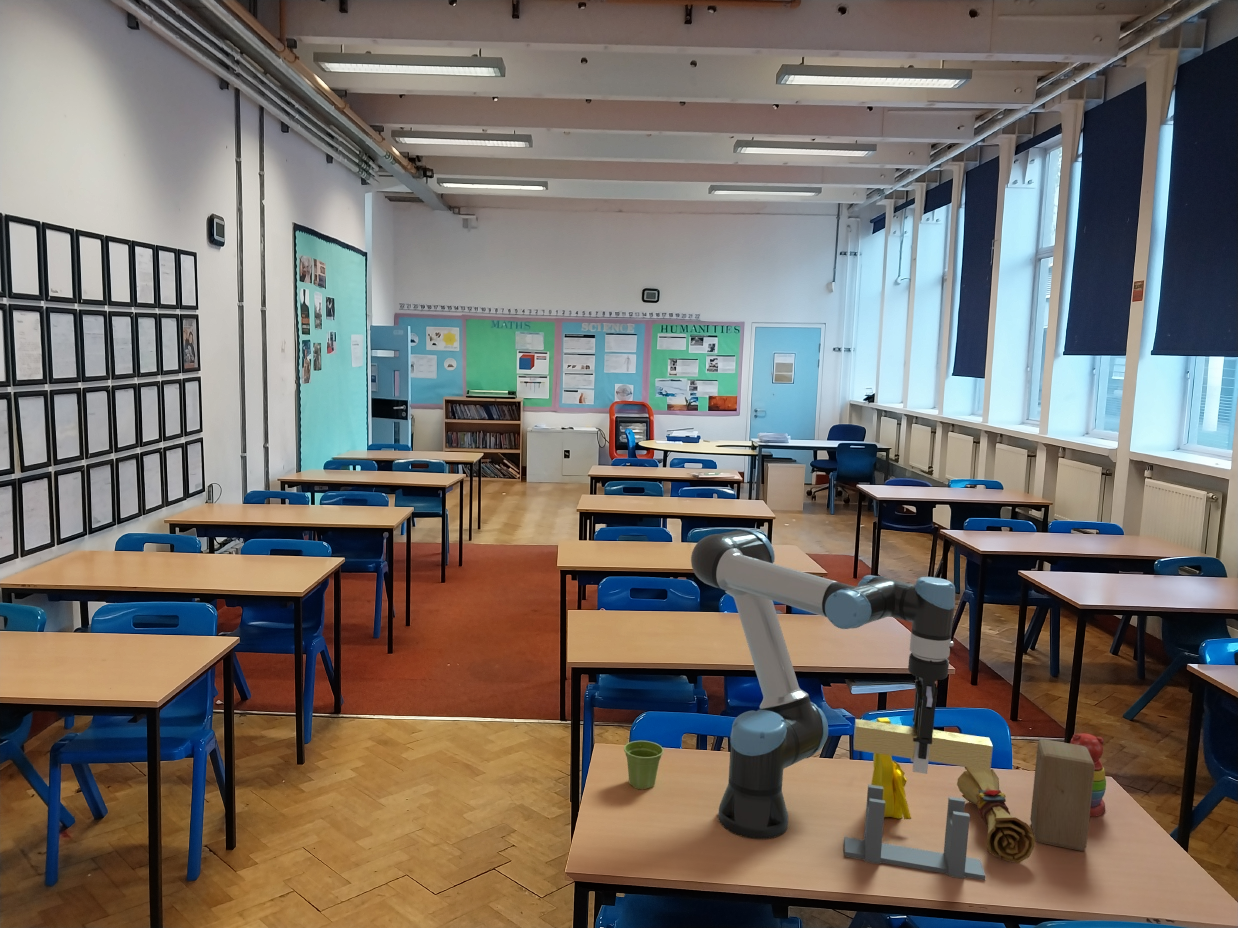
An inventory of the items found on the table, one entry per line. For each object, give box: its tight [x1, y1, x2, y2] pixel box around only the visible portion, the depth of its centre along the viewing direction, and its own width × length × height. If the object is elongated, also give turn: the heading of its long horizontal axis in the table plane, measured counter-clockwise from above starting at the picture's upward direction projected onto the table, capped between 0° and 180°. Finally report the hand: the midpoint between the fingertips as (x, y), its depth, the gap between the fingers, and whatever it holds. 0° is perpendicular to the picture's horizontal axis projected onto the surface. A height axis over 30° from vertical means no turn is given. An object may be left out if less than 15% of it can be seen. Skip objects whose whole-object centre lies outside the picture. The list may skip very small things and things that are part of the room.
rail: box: [853, 718, 994, 770], centre depth 172 cm, size 26×4×5 cm, turn 76°
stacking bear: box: [1069, 732, 1107, 818], centre depth 200 cm, size 11×10×18 cm
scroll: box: [956, 766, 1036, 864], centre depth 187 cm, size 27×10×10 cm, turn 171°
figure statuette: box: [870, 717, 912, 820], centre depth 193 cm, size 18×8×22 cm, turn 2°
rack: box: [843, 784, 986, 881], centre depth 174 cm, size 27×7×13 cm, turn 76°
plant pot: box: [623, 740, 665, 790], centre depth 202 cm, size 9×9×9 cm
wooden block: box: [1029, 738, 1095, 852], centre depth 185 cm, size 10×10×20 cm
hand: (918, 766), depth 173 cm, fingers closed on rail, 4 cm apart
